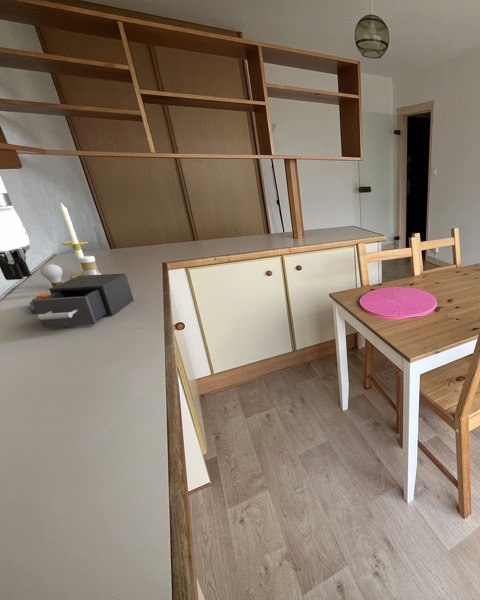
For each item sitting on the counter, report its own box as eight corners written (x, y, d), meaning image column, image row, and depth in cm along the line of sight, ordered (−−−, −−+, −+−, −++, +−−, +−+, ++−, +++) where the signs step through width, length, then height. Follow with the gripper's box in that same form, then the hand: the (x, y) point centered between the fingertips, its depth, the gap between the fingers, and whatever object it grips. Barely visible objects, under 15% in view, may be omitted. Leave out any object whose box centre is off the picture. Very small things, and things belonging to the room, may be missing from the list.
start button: (54, 298, 108) (52, 294, 107) (38, 301, 105) (36, 296, 105) (53, 296, 110) (51, 291, 109) (38, 299, 108) (36, 294, 107)
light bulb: (46, 291, 123) (36, 267, 119) (49, 287, 127) (39, 263, 124) (67, 288, 126) (58, 264, 123) (69, 285, 131) (60, 261, 127)
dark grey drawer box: (112, 316, 103) (102, 285, 100) (61, 320, 100) (48, 288, 96) (133, 300, 116) (125, 273, 113) (89, 303, 113) (79, 275, 109)
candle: (104, 275, 144) (80, 202, 133) (75, 280, 137) (46, 203, 125) (97, 271, 149) (73, 200, 138) (68, 276, 142) (40, 201, 130)
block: (67, 307, 109) (63, 298, 107) (33, 314, 103) (28, 304, 102) (64, 300, 115) (60, 291, 113) (31, 306, 109) (27, 297, 108)
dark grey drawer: (86, 330, 92) (75, 302, 89) (32, 335, 88) (19, 306, 85) (118, 307, 108) (110, 283, 104) (73, 311, 104) (64, 286, 101)
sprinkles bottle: (107, 287, 129) (96, 255, 125) (100, 290, 125) (89, 258, 121) (93, 287, 128) (82, 255, 124) (86, 291, 124) (74, 258, 119)
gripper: (-6, 199, 78) (24, 270, 85) (-73, 204, 64) (-31, 289, 71) (32, 200, 80) (59, 269, 87) (-25, 204, 66) (12, 286, 73)
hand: (18, 277), depth 79 cm, fingers closed
